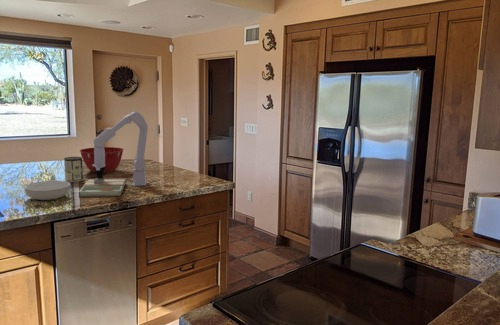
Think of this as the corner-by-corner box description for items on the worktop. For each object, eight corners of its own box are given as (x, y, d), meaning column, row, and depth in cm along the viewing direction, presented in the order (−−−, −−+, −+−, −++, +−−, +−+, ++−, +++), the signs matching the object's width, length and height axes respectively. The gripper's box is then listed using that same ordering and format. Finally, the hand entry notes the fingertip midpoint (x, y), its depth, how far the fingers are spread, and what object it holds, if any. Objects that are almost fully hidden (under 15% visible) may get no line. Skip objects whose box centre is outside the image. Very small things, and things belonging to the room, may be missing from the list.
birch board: (88, 183, 232) (88, 179, 231) (125, 183, 236) (125, 178, 236) (83, 190, 216) (83, 185, 216) (122, 189, 221) (122, 184, 220)
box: (83, 190, 216) (83, 186, 216) (122, 189, 221) (122, 185, 220) (78, 196, 204) (78, 191, 203) (120, 195, 208) (120, 191, 208)
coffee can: (73, 177, 246) (72, 156, 244) (86, 179, 243) (85, 157, 241) (61, 181, 236) (60, 158, 234) (75, 182, 234) (74, 159, 231)
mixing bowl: (71, 173, 257) (70, 151, 255) (95, 166, 285) (95, 145, 282) (110, 177, 252) (109, 153, 250) (131, 169, 280) (130, 148, 277)
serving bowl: (17, 198, 197) (16, 185, 195) (56, 190, 214) (56, 178, 213) (38, 206, 185) (38, 192, 184) (78, 197, 203) (78, 184, 201)
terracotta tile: (101, 189, 210) (101, 192, 210) (111, 189, 211) (111, 192, 211) (103, 186, 215) (103, 190, 215) (112, 186, 216) (112, 190, 216)
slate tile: (95, 181, 225) (95, 178, 225) (104, 181, 226) (104, 178, 226) (94, 183, 220) (93, 180, 220) (103, 183, 222) (103, 180, 221)
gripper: (94, 155, 230) (95, 177, 233) (89, 159, 216) (90, 183, 219) (106, 155, 232) (107, 177, 234) (103, 159, 218) (103, 182, 220)
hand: (100, 180), depth 227 cm, fingers closed
